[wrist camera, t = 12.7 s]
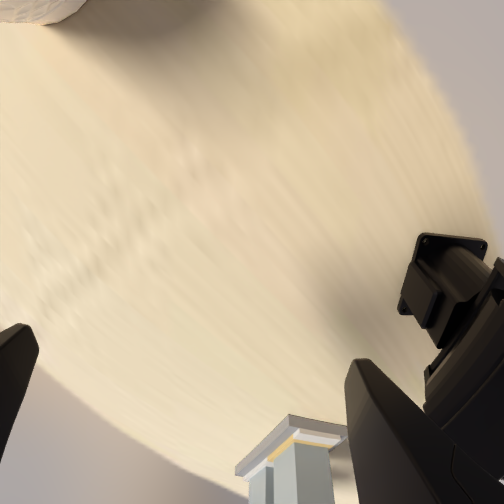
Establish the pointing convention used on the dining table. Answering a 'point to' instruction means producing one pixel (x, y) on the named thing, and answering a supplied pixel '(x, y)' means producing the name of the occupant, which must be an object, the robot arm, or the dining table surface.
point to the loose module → (303, 476)
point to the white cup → (37, 10)
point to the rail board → (290, 442)
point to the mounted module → (262, 487)
